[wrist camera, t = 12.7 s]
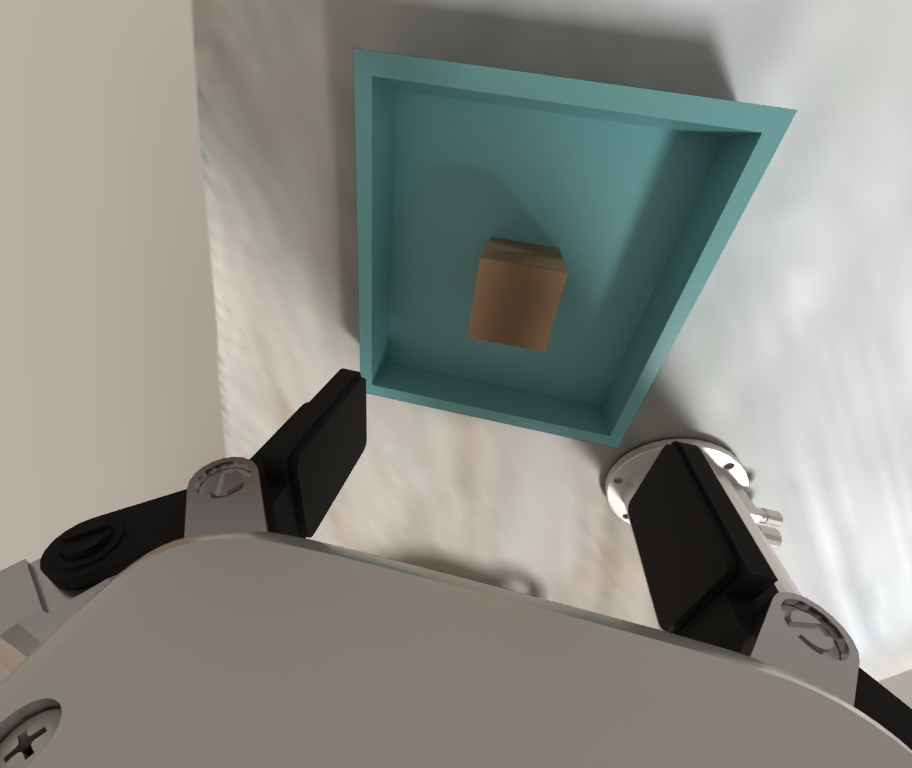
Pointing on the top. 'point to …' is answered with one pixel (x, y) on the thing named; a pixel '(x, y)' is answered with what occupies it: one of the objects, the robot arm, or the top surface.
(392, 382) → the bin
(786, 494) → the top surface
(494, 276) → the walnut block
